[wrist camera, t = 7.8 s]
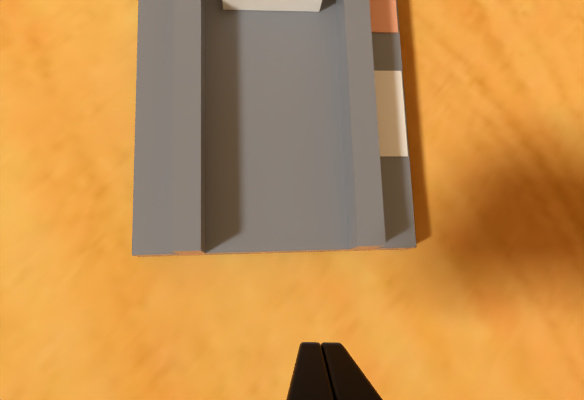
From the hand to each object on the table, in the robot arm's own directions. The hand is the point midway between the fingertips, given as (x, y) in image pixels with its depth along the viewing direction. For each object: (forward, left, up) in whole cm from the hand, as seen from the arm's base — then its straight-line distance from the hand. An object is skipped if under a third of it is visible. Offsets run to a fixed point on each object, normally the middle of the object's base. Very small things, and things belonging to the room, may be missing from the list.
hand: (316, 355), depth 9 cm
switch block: (+11, +2, -13) cm, 17 cm away
